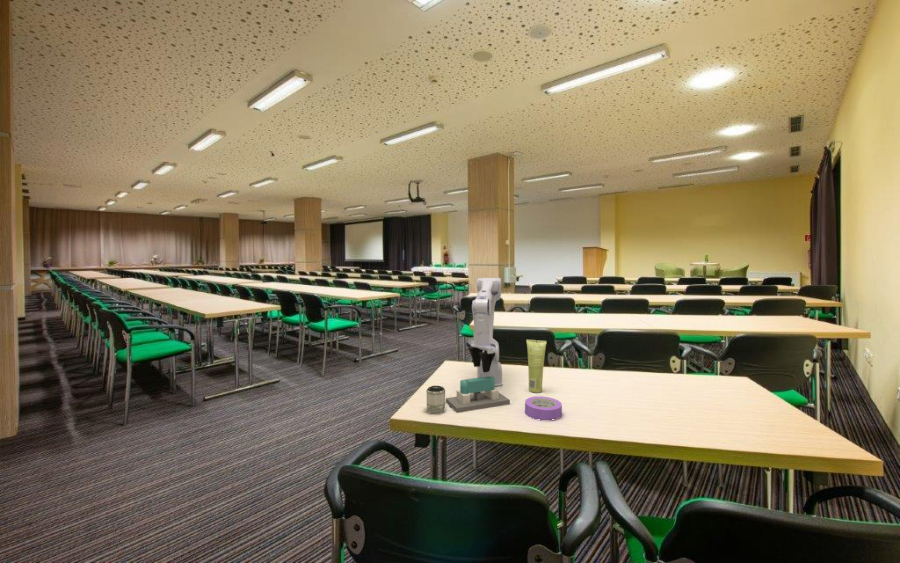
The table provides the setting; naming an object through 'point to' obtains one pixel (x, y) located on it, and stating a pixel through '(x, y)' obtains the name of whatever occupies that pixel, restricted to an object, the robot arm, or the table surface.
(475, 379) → the teal dome-capped pillar
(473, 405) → the display stand
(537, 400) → the masking tape
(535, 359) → the tube
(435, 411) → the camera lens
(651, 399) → the table surface
